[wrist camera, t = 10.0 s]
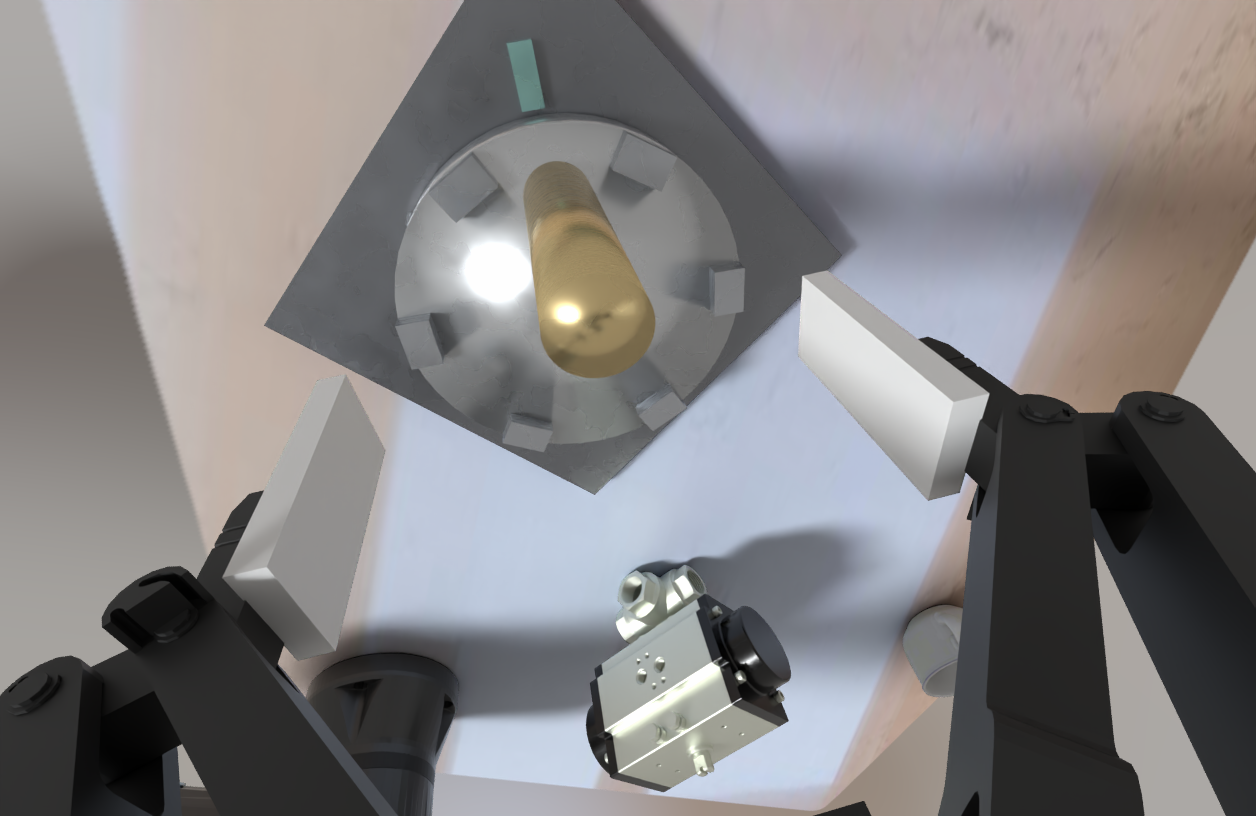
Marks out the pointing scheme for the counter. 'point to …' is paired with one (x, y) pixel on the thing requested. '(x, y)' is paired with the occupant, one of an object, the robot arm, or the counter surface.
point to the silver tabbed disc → (566, 281)
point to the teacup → (935, 648)
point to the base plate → (496, 95)
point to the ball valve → (682, 682)
